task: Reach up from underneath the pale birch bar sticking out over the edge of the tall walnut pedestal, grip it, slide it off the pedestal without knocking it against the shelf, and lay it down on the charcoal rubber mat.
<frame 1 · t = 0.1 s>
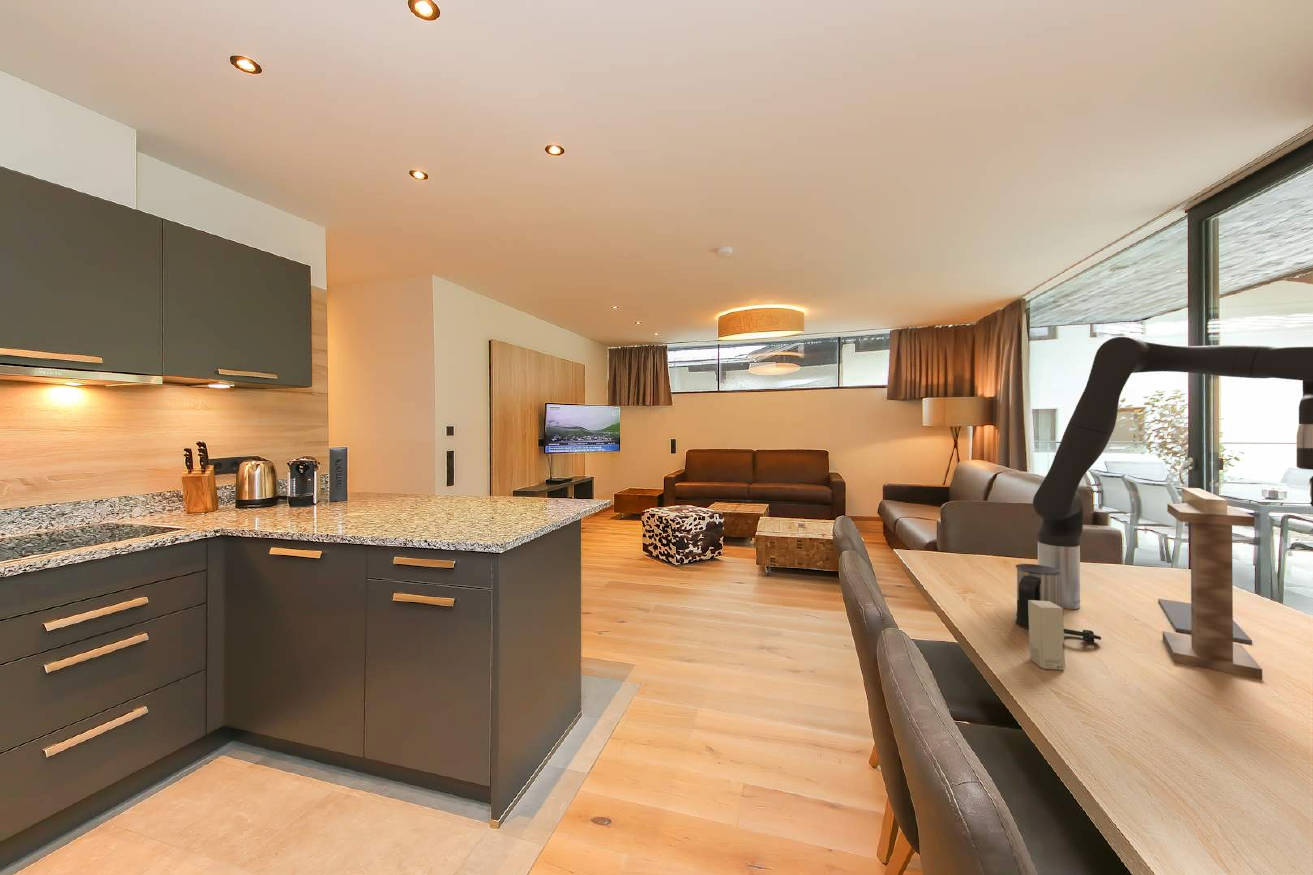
birch bar: (1202, 506, 108), point 32 cm above the table, touching walnut pedestal
box: (1046, 665, 103), on the table
walnut pedestal: (1208, 657, 105), on the table
charcoal mat: (1200, 620, 125), on the table
milk frother: (1055, 633, 119), on the table
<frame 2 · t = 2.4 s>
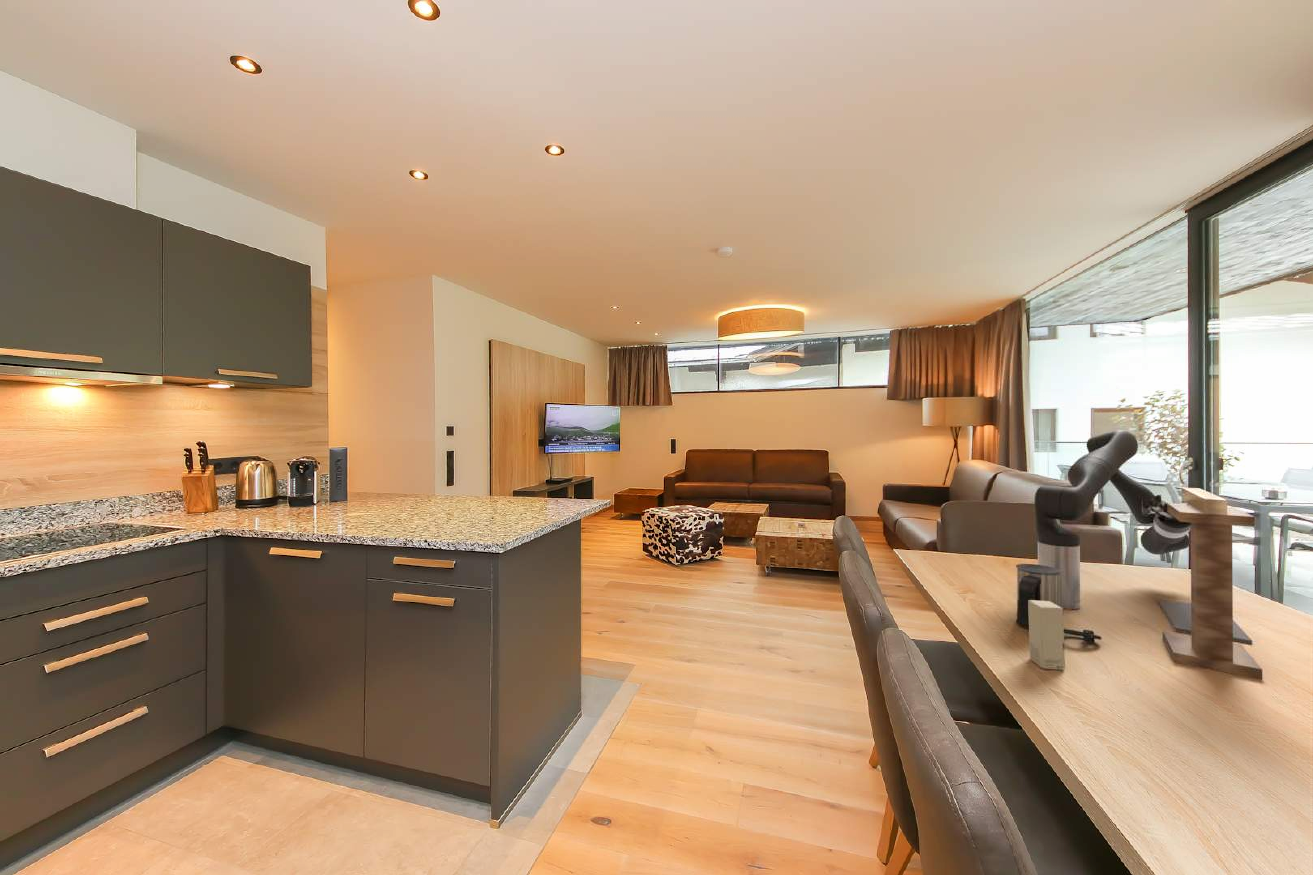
hand: (1182, 498, 129), 31 cm above the table, tool pointing upward, fingers open, 8 cm apart
nothing on the table moved.
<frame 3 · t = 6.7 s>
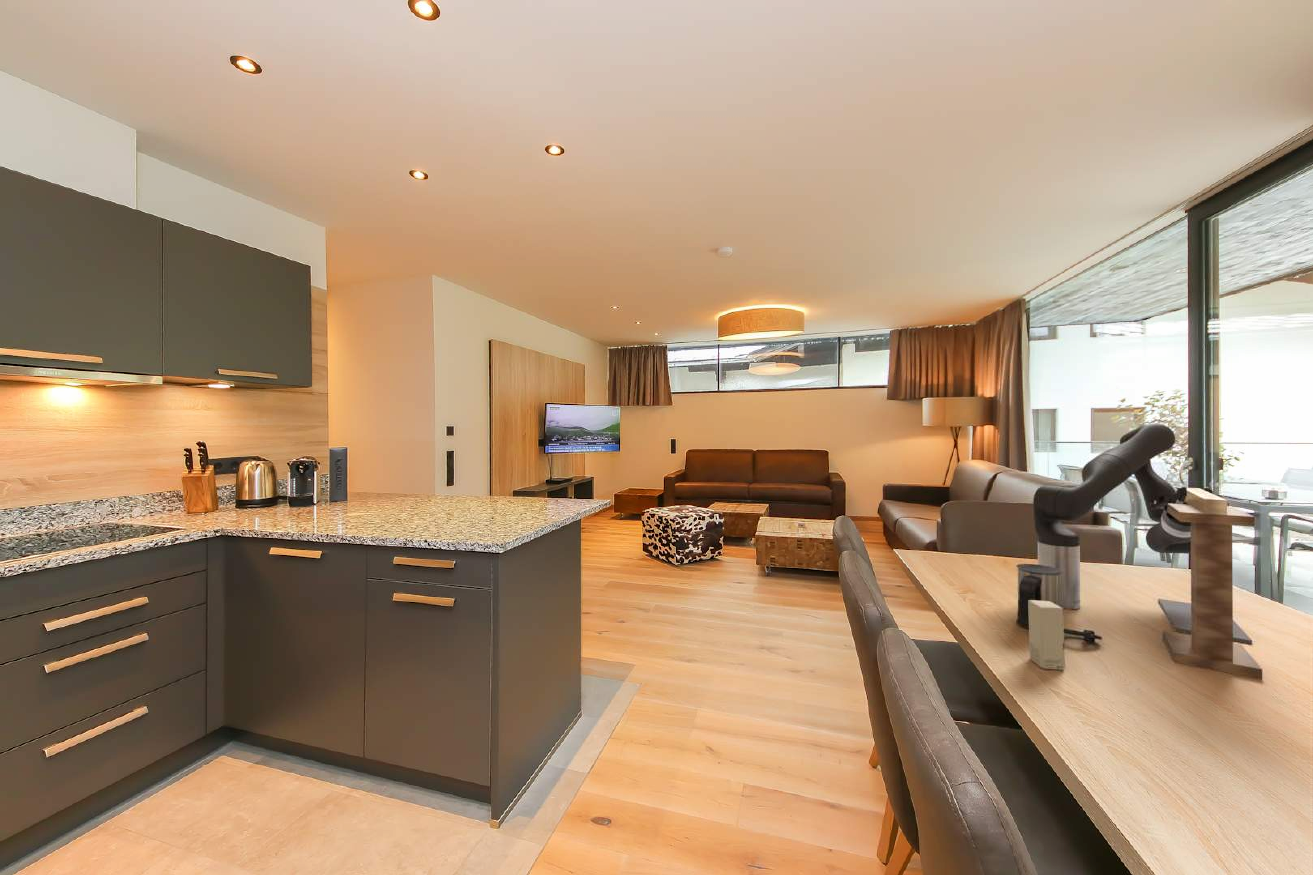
hand: (1196, 490, 112), 35 cm above the table, tool pointing upward, fingers closed on birch bar, 3 cm apart
birch bar: (1202, 506, 108), point 32 cm above the table, touching gripper, walnut pedestal
everything else where it was.
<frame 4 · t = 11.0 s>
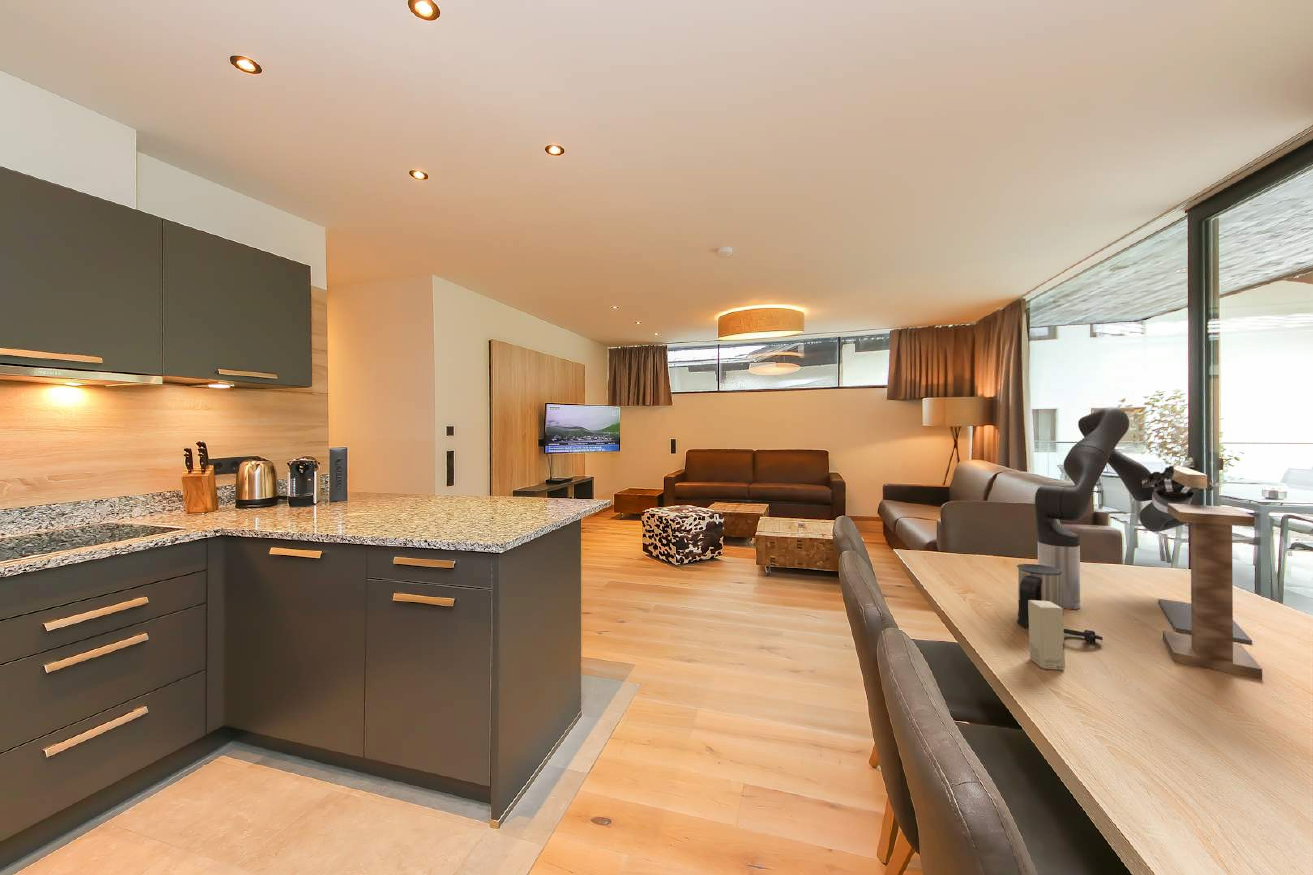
hand: (1182, 469, 125), 39 cm above the table, tool pointing upward, fingers closed on birch bar, 3 cm apart
birch bar: (1186, 482, 120), point 36 cm above the table, touching gripper
everything else where it was.
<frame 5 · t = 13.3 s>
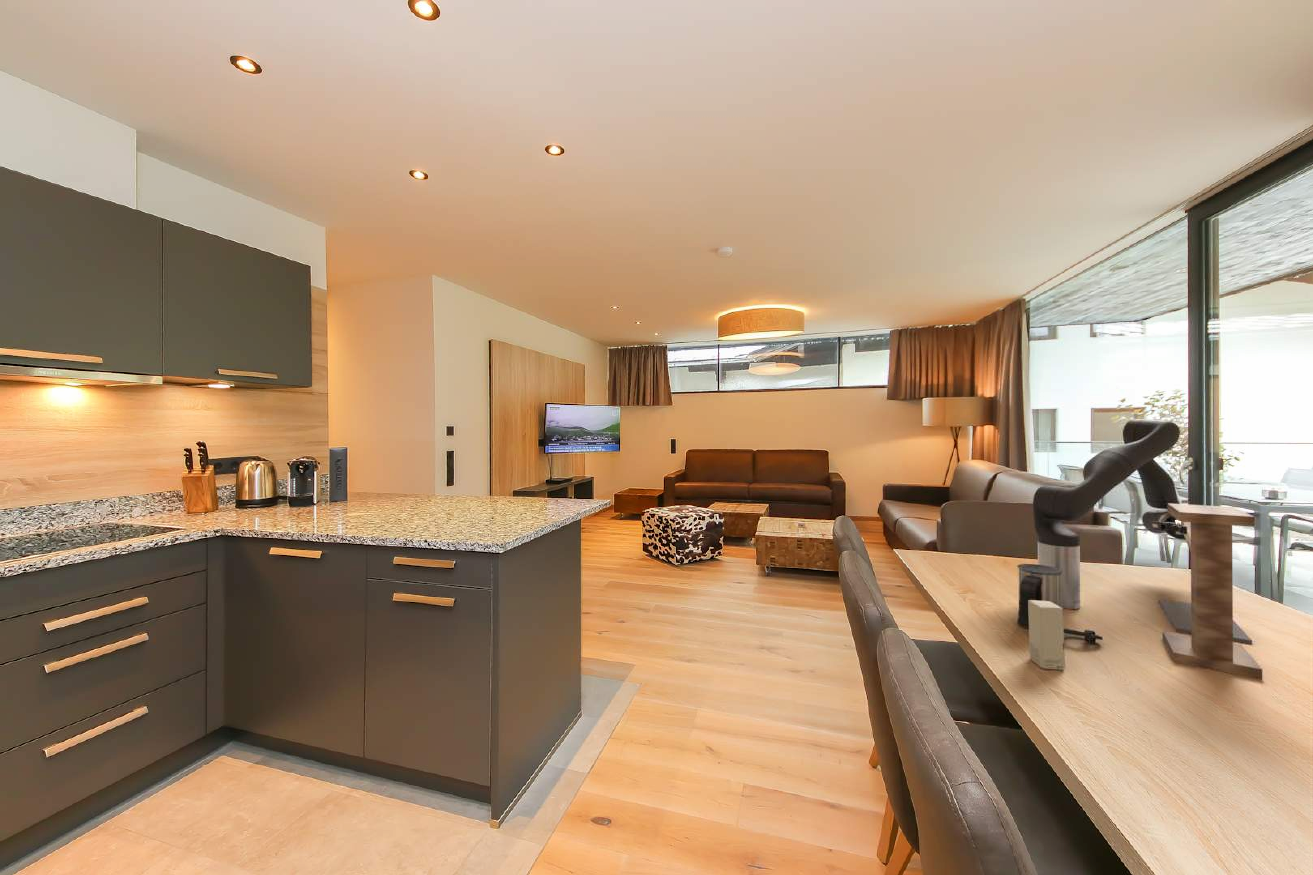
hand: (1195, 530, 129), 22 cm above the table, tool horizontal, fingers closed on birch bar, 3 cm apart
birch bar: (1199, 554, 125), point 17 cm above the table, tilted 26°, touching gripper
everything else where it was.
when the fingers open (13 cm above the table, at t = 15.6 s): birch bar drops 7 cm, resting on charcoal mat.
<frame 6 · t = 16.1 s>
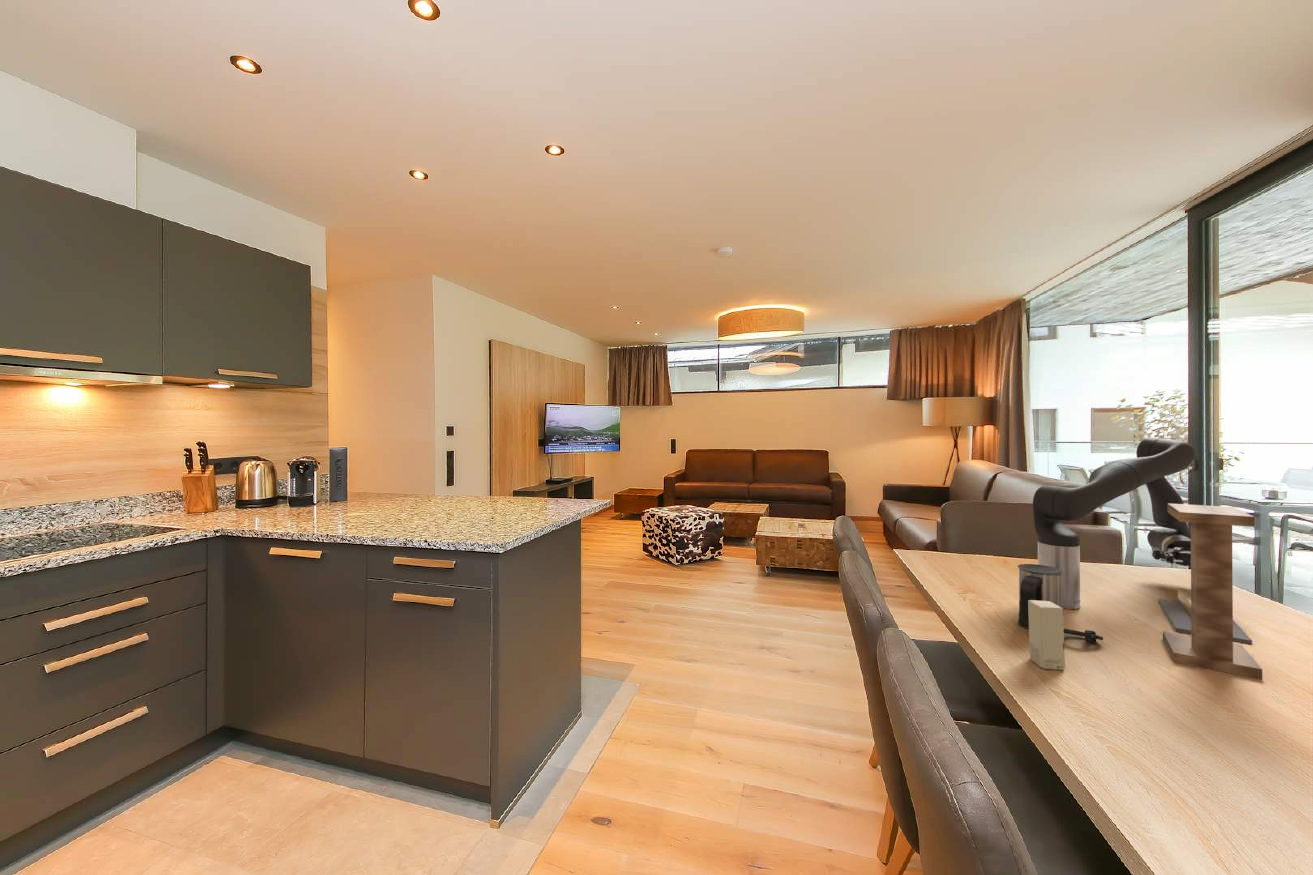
hand: (1193, 562, 130), 14 cm above the table, tool horizontal, fingers open, 7 cm apart
birch bar: (1195, 611, 128), point 1 cm above the table, touching charcoal mat
everything else where it was.
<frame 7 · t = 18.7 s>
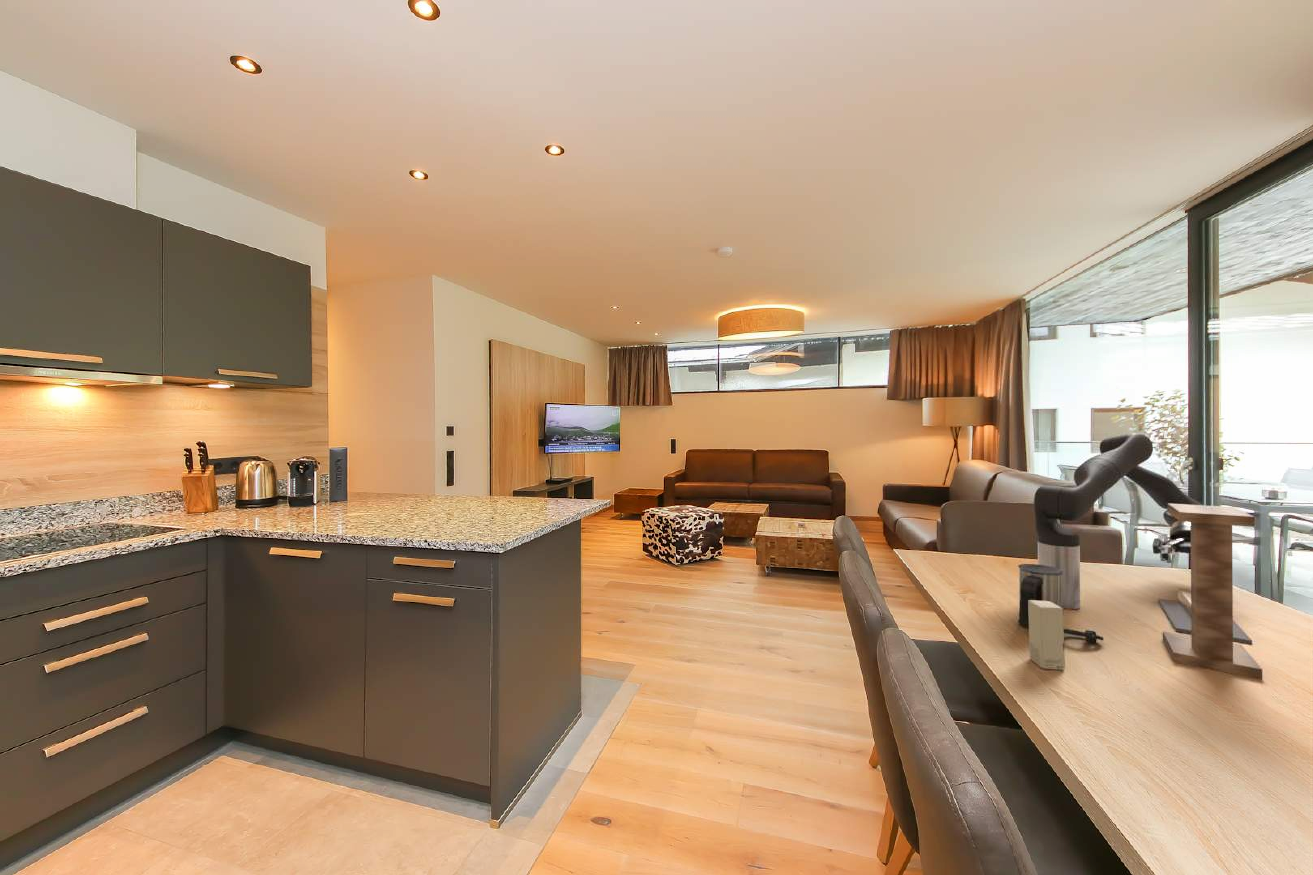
hand: (1188, 558, 136), 13 cm above the table, tool horizontal, fingers open, 8 cm apart
nothing on the table moved.
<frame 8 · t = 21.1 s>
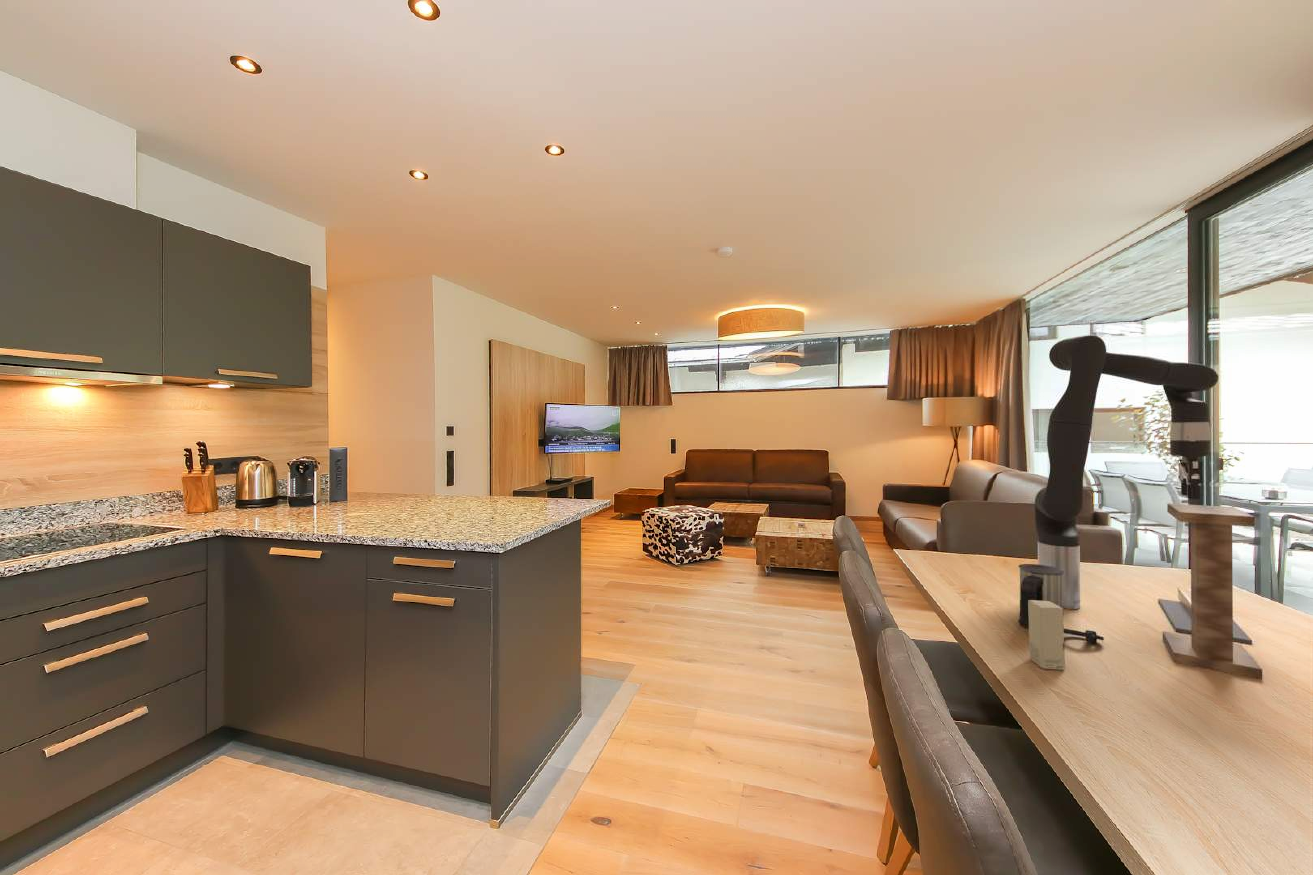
hand: (1190, 497, 135), 30 cm above the table, tool pointing down, fingers open, 8 cm apart
nothing on the table moved.
at the end: the gripper is holding nothing; birch bar point 0.8 cm above the table; birch bar 4.6 cm from the charcoal mat (horizontally) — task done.
